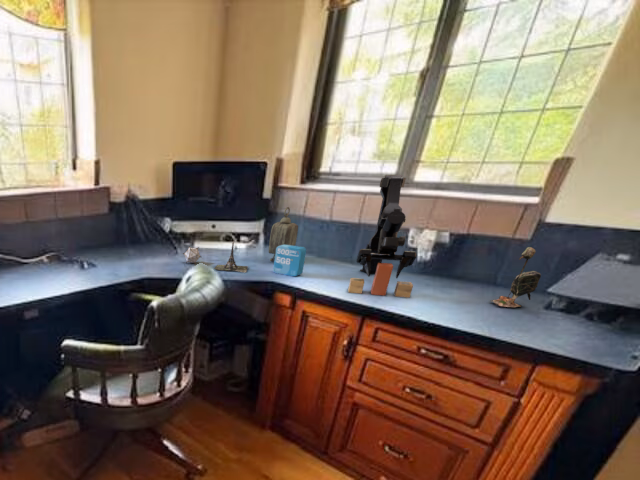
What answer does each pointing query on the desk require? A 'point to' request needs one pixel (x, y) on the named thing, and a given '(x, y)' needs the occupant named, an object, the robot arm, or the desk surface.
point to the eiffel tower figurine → (232, 264)
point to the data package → (289, 260)
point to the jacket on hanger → (282, 234)
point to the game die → (192, 255)
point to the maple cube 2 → (403, 289)
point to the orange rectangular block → (381, 279)
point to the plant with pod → (521, 283)
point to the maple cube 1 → (356, 285)
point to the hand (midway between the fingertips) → (382, 276)
